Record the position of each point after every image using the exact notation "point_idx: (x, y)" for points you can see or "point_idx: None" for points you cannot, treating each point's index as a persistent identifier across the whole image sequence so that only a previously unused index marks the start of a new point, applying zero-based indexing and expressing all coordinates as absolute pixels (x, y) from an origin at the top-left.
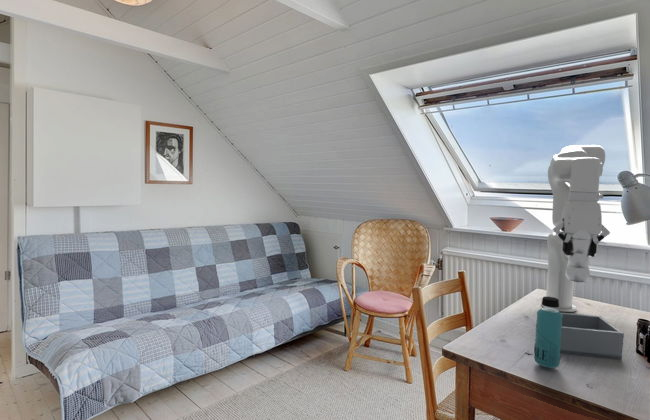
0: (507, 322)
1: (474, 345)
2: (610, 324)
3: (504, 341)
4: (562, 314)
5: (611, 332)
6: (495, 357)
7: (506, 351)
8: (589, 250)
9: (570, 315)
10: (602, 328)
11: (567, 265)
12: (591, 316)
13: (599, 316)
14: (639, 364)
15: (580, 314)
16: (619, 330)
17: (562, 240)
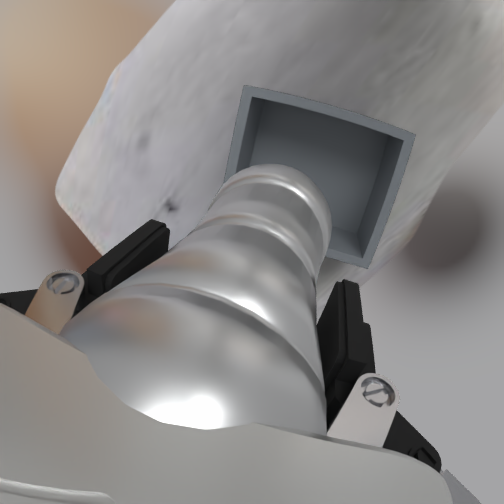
0: (203, 16)
1: (89, 175)
2: (388, 206)
3: (145, 146)
4: (297, 106)
5: (340, 260)
6: (111, 224)
7: (134, 198)
8: (326, 327)
9: (322, 112)
10: (388, 167)
11: (218, 197)
12: (384, 132)
13: (409, 137)
14: (380, 259)
15: (358, 114)
16: (374, 250)
17: (59, 281)
